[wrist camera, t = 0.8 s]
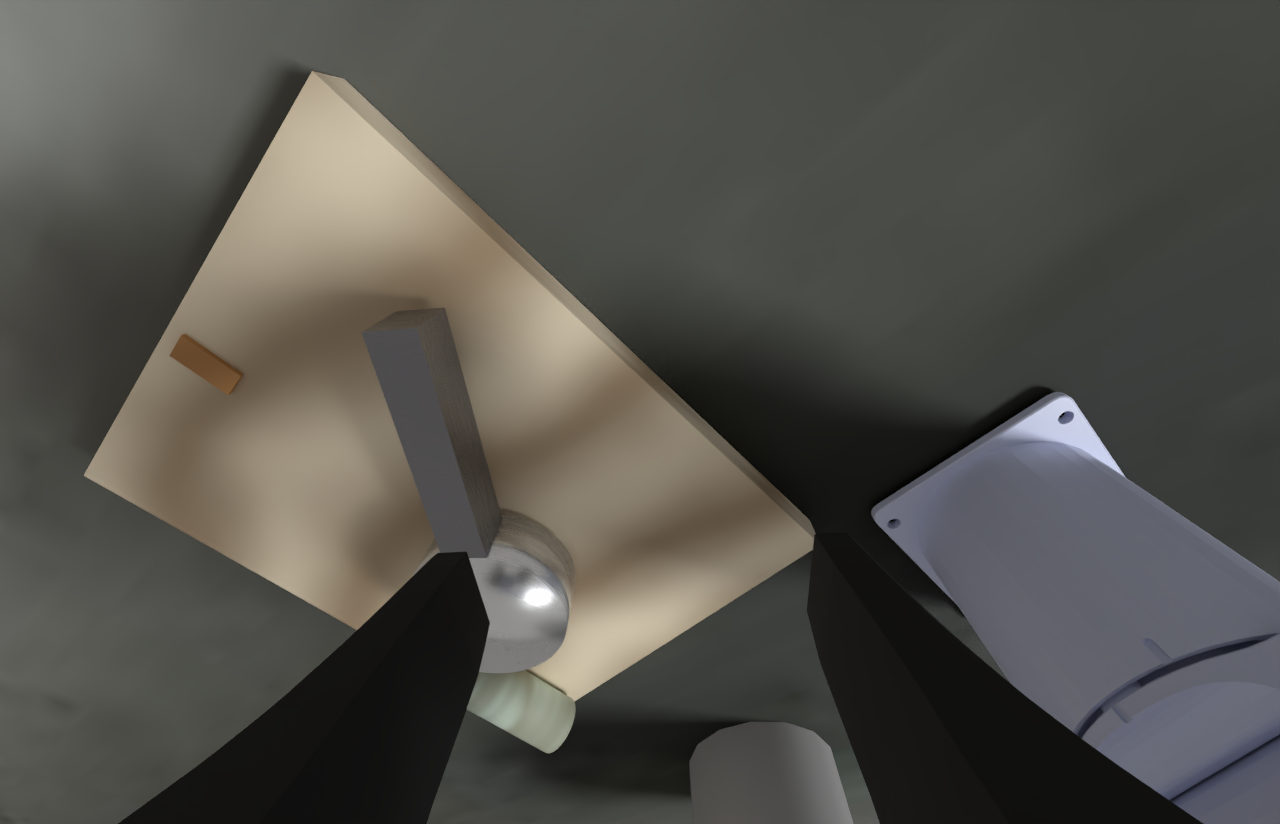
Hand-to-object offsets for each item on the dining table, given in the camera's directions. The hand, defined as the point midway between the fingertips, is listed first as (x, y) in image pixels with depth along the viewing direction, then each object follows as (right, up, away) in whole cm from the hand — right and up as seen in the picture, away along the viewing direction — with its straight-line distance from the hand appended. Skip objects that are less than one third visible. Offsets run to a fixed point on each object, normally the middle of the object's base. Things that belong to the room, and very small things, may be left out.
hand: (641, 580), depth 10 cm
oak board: (-7, 0, +11) cm, 13 cm away
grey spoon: (-6, 0, +8) cm, 10 cm away
